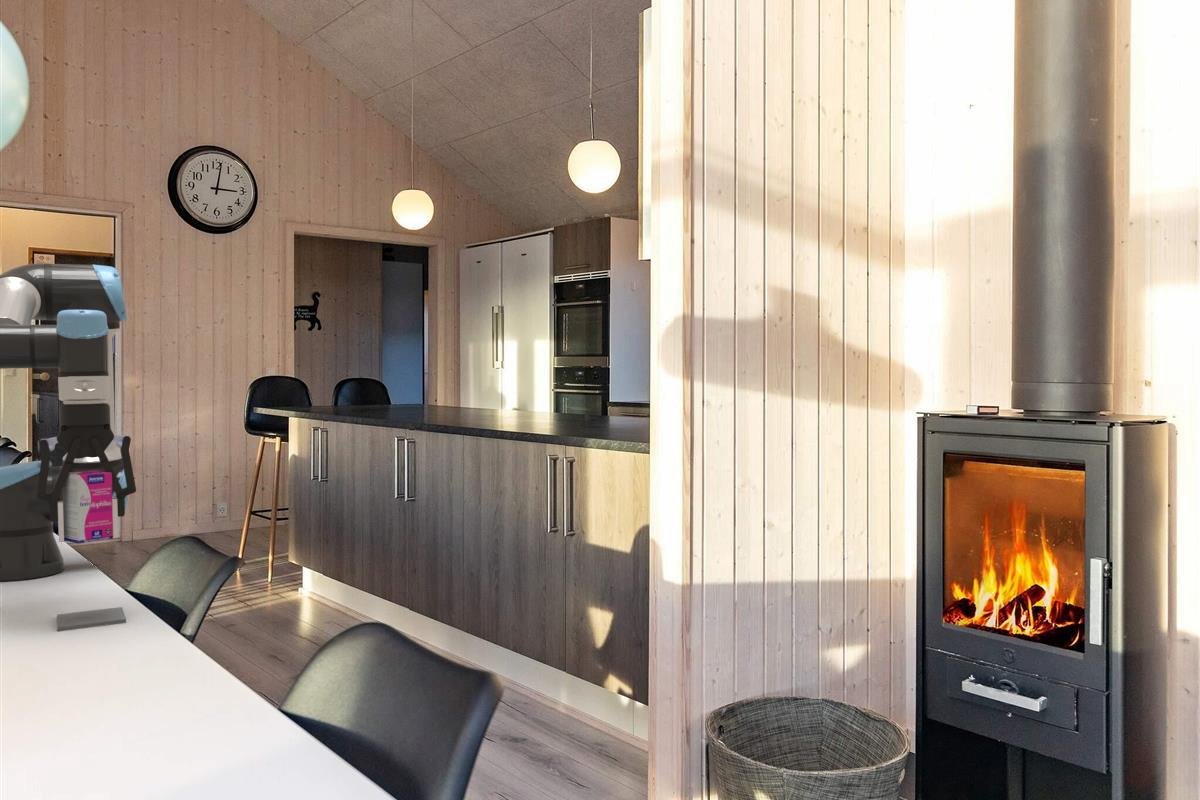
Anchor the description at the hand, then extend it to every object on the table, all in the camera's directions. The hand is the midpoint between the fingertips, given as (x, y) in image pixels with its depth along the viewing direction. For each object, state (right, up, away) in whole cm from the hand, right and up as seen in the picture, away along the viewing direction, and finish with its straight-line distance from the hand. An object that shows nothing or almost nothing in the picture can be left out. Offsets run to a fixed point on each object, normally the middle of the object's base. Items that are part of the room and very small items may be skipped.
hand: (88, 538), depth 164 cm
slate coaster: (0, -14, 0) cm, 14 cm away
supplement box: (0, -1, 0) cm, 1 cm away
